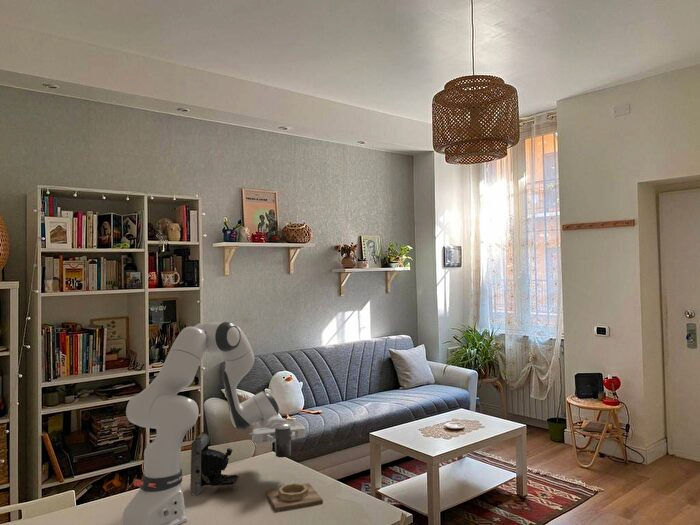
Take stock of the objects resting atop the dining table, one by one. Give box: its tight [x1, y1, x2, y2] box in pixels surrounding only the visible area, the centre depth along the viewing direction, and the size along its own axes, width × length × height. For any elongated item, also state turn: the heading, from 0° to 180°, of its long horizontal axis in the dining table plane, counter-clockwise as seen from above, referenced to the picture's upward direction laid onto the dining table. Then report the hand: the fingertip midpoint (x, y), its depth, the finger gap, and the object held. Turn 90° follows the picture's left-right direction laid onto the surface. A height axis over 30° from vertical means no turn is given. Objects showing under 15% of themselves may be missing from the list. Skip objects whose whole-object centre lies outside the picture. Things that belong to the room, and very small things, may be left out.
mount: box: [265, 482, 324, 512], centre depth 184 cm, size 16×16×3 cm
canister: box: [274, 423, 292, 458], centre depth 197 cm, size 6×6×11 cm
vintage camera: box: [190, 431, 240, 496], centre depth 193 cm, size 10×16×20 cm, turn 89°
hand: (283, 439), depth 197 cm, fingers closed on canister, 6 cm apart
